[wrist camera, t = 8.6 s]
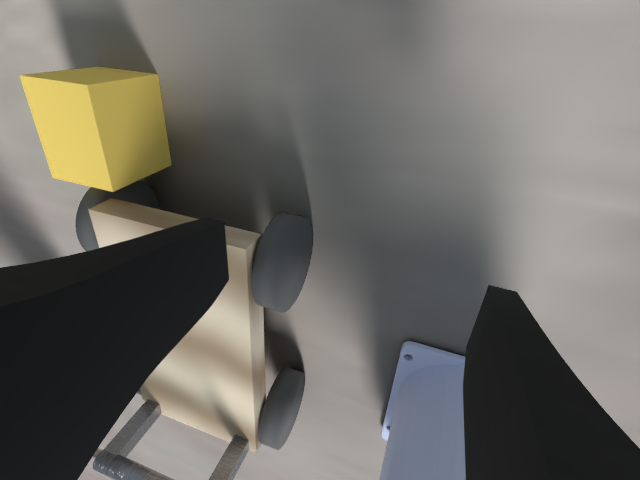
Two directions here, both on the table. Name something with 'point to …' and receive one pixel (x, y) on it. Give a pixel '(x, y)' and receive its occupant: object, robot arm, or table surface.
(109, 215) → the dolly
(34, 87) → the block
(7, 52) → the table surface
